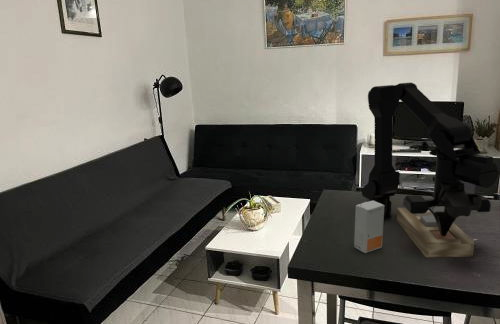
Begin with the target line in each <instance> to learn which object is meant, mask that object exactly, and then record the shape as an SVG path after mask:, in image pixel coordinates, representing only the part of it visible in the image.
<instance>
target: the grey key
mask: <svg viewBox="0 0 500 324" xmlns="http://www.w3.org/2000/svg"><path fill="white" fill-rule="evenodd" d="M420 221H421V222H422V223H423V225H424V226H425V227H438V226H437V223H436V220H435V217H434V215H428V216H420Z"/></svg>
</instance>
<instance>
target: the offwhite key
mask: <svg viewBox="0 0 500 324" xmlns="http://www.w3.org/2000/svg"><path fill="white" fill-rule="evenodd" d="M414 215H415V216H428V215H433V214H432V213H431V212H430V211H429V210H428V211H427V212H426V213H425V214H414Z"/></svg>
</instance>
